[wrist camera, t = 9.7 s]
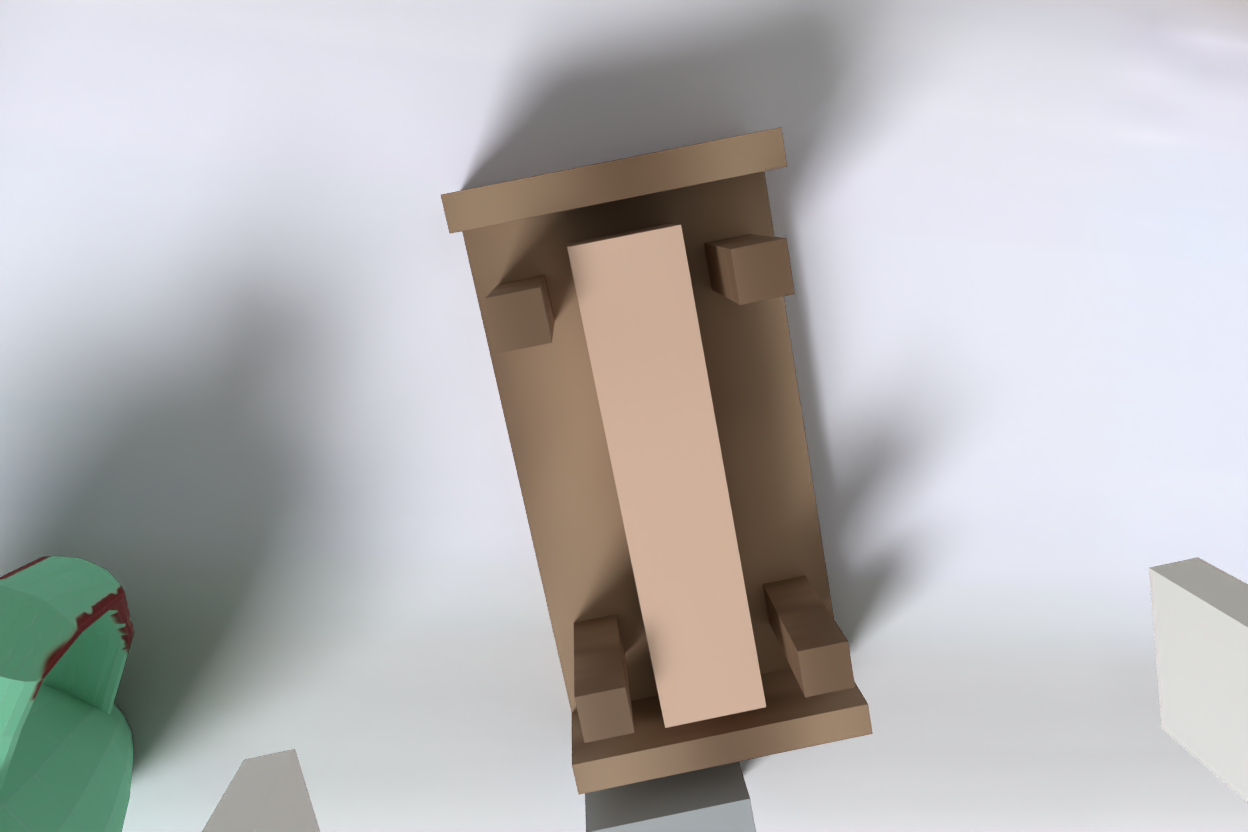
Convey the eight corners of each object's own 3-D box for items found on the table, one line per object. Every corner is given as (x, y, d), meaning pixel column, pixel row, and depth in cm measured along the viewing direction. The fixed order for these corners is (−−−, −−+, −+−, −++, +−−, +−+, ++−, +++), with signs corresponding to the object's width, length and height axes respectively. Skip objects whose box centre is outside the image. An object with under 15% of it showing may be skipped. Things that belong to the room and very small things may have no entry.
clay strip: (654, 670, 31) (664, 728, 27) (567, 243, 28) (567, 247, 24) (744, 652, 31) (766, 707, 28) (667, 223, 28) (680, 224, 24)
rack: (578, 723, 32) (580, 836, 27) (458, 193, 29) (429, 189, 23) (834, 670, 33) (892, 771, 27) (750, 136, 29) (797, 116, 23)
